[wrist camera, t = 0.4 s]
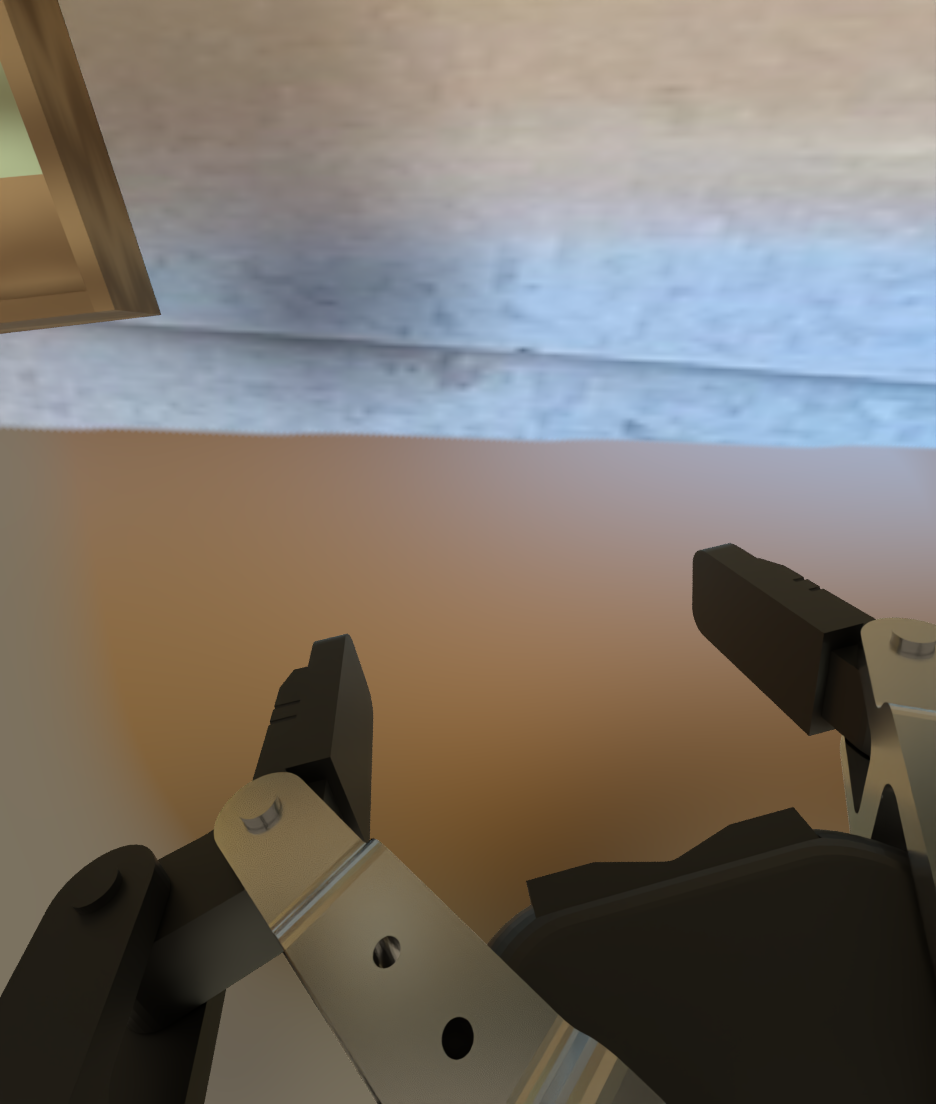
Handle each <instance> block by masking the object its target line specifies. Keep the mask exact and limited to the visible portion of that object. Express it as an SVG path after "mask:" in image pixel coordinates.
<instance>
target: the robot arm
mask: <svg viewBox="0 0 936 1104" xmlns="http://www.w3.org/2000/svg"><path fill="white" fill-rule="evenodd" d="M692 601H693V602H692V610H693V616H694V620H695V622H696V625H697V627H698V629H699V630H700V632H701V633H702V634H703V635H704V636H705V637H706V638H707V639H708V640H709V641H710V642H711V643H712V644H713V645H714V646H715V647H716V648H717V649H718V650H719V651H720V652H721V653H722V654H724V655H725V656H726V657H727V658H728V659H729V660H730V661H731V662H732V663H733V664H734V665H735V666H736V667H737V668H738V669H739V670H740V671H741V672H742V673H743V674H744V675H746V676H747V677H748V678H749V679H750V680H751V681H752V682H753V683H754V684H755V685H756V686H757V687H758V688H759V689H760V690H761V691H762V692H763V693H764V694H766V696H768V697H769V698H770V699H771V700H772V701H773V702H774V703H775V704H776V705H777V706H778V707H779V708H780V709H781V710H782V711H783V712H784V713H786V715H787V716H789V717H790V718H791V719H792V720H793V721H794V722H795V723H796V724H797V725H798V726H799V727H800V728H801V729H802V730H803V731H804V732H805V733H807V735H808V736H811V735H814V734H819V733H822V732H826V731H830V730H833V729H836V730H837V731H839V733H841V734H842V738H841V744H840V754H841V763H842V771H843V778H844V787H845V794H846V803H847V811H848V819H849V827H850V834H849V833H843V832H838V831H830V830H820V829H812V828H811V827H810V826H809V825H808V824H807V822H806V821H805V820H804V819H803V818H802V817H801V816H800V814H799V813H798V812H797V811H796V810H795V808H793V807H792V808H788V809H785V810H781V811H777V812H774V813H770V814H767V815H763V816H759V817H756V818H752V819H749V820H745V821H741V822H738V823H734V824H731V825H729V826H727V827H725V828H724V829H722V830H721V831H719V832H717V833H716V834H714V835H713V836H711V837H710V838H708V839H707V840H705V841H703V842H702V843H700V844H699V845H698V846H696V847H694V848H693V849H691V850H690V851H688V852H686V853H685V854H683V855H682V856H680V857H679V858H677V859H675V860H672V861H667V862H593V863H590V864H586V865H582V866H579V867H575V868H571V869H568V870H564V871H561V872H557V873H553V874H550V875H546V876H542V877H539V878H535V879H532V880H528V881H526V882H527V887H528V892H529V896H530V900H531V905H530V906H529V907H527V908H526V909H524V910H522V911H521V912H519V913H518V914H517V915H515V916H514V917H513V918H512V919H511V920H510V921H508V922H507V923H506V924H505V925H504V926H503V927H502V928H501V929H500V930H499V931H498V932H497V933H496V934H495V935H494V937H493V938H492V939H491V940H490V941H489V943H488V944H487V945H486V944H485V943H484V942H483V941H482V940H481V939H480V938H479V937H478V936H477V935H476V934H475V933H474V932H473V931H472V930H471V929H470V928H469V927H468V926H467V925H466V924H465V923H464V922H463V921H462V920H461V919H459V917H458V916H457V915H456V914H454V913H453V912H452V911H451V910H450V909H449V908H448V907H447V906H446V905H445V904H444V903H443V902H442V901H441V900H440V899H439V898H438V897H437V896H436V895H435V894H434V893H433V892H432V891H431V890H430V889H429V888H428V887H427V886H426V885H425V884H424V883H423V882H422V881H421V880H419V878H418V877H416V876H415V875H414V874H413V873H412V872H411V871H410V870H409V869H408V868H407V867H406V866H405V865H404V864H403V863H402V862H401V861H400V860H399V859H398V858H397V857H396V856H395V855H394V854H393V853H392V852H391V851H390V850H389V849H387V847H385V846H384V845H383V844H382V843H381V842H379V841H378V840H376V839H371V840H369V839H370V808H371V773H372V740H373V707H372V701H371V696H370V692H369V689H368V685H367V682H366V679H365V676H364V673H363V670H362V667H361V664H360V661H359V659H358V656H357V653H356V650H355V647H354V644H353V641H352V639H351V637H350V635H348V634H344V635H340V636H336V637H332V638H327V639H323V640H319V641H315V642H314V644H313V646H312V651H311V655H310V660H309V664H308V667H304V668H300V669H295V670H293V672H292V673H291V674H290V676H289V677H288V678H287V679H286V681H285V682H284V683H283V684H282V686H281V687H280V689H279V692H278V696H277V699H276V702H275V709H274V710H273V712H272V716H271V720H270V725H269V726H268V730H267V733H266V736H265V740H264V743H263V747H262V750H261V753H260V757H259V760H258V764H257V767H256V770H255V774H254V777H253V781H252V782H250V783H248V784H247V785H245V786H244V787H243V788H241V789H240V790H239V791H238V792H237V793H235V794H234V795H233V796H232V797H231V798H230V799H229V800H228V802H227V803H226V804H225V805H224V807H223V808H222V810H221V812H220V813H219V815H218V817H217V820H216V823H215V827H214V830H212V831H211V832H209V833H208V834H206V835H204V836H202V837H201V838H199V839H197V840H195V841H193V842H191V843H189V844H187V845H186V846H184V847H182V848H180V849H178V850H176V851H174V852H172V853H170V854H168V855H166V856H165V857H163V858H161V859H159V860H157V858H156V857H155V855H154V854H153V852H152V851H151V850H150V849H148V848H147V847H145V846H143V845H127V846H123V847H120V848H117V849H114V850H112V851H110V852H108V853H106V854H104V855H102V856H100V857H98V858H97V859H95V860H94V861H92V862H91V863H89V864H88V865H87V866H85V867H84V868H83V869H81V870H80V871H79V872H78V873H77V874H75V875H74V876H73V877H72V878H71V879H70V880H69V881H68V882H67V883H66V884H65V885H64V887H63V888H62V889H61V890H60V891H59V892H58V894H57V895H56V896H55V898H54V899H53V900H52V902H51V904H50V905H49V907H48V909H47V910H46V912H45V915H44V916H43V918H42V920H41V922H40V923H39V925H38V927H37V929H36V931H35V933H34V935H33V937H32V939H31V940H30V942H29V944H28V946H27V948H26V950H25V952H24V954H23V956H22V957H21V959H20V961H19V963H18V965H17V967H16V969H15V970H14V972H13V974H12V976H11V978H10V980H9V982H8V984H7V986H6V988H5V989H4V991H3V993H2V995H1V997H0V1104H204V1102H205V1096H206V1091H207V1085H208V1081H209V1076H210V1071H211V1065H212V1060H213V1055H214V1050H215V1044H216V1039H217V1034H218V1028H219V1024H220V1018H221V1013H222V1007H223V1002H224V997H225V992H226V988H228V987H230V986H231V985H233V984H234V983H236V982H237V981H239V980H240V979H242V978H244V977H245V976H247V975H248V974H250V973H251V972H253V971H254V970H256V969H258V968H259V967H261V966H262V965H264V964H265V963H267V962H268V961H270V960H272V959H273V958H275V957H276V956H278V955H279V954H281V953H283V954H284V956H285V958H286V959H287V961H288V962H289V964H290V965H291V967H292V969H293V970H294V972H295V973H296V975H297V977H298V978H299V980H300V981H301V983H302V985H303V986H304V988H305V989H306V991H307V993H308V994H309V995H310V997H311V999H312V1000H313V1002H314V1004H315V1005H316V1007H317V1008H318V1010H319V1011H320V1013H321V1015H322V1016H323V1018H324V1019H325V1021H326V1023H327V1024H328V1026H329V1027H330V1029H331V1031H332V1032H333V1034H334V1035H335V1037H336V1039H337V1040H338V1042H339V1043H340V1045H341V1046H342V1048H343V1050H344V1051H345V1053H346V1055H347V1056H348V1058H349V1059H350V1061H351V1063H352V1064H353V1066H354V1067H355V1069H356V1071H357V1072H358V1074H359V1075H360V1077H361V1079H362V1081H363V1082H364V1084H365V1085H366V1087H367V1088H368V1090H369V1092H370V1093H371V1095H372V1097H373V1098H374V1100H375V1101H376V1103H377V1104H936V625H935V624H931V623H928V622H924V621H920V620H915V619H908V618H882V619H877V620H876V619H874V618H873V617H871V616H869V615H868V614H866V613H864V612H862V611H861V610H859V609H857V608H856V607H854V606H852V605H851V604H849V603H847V602H845V601H844V600H842V599H840V598H839V597H837V596H835V595H833V594H831V593H830V592H828V591H826V590H825V589H820V587H819V586H818V585H816V584H815V583H813V582H811V581H810V580H808V579H806V580H804V577H802V576H801V575H799V574H798V573H796V572H794V571H792V570H791V569H789V568H787V567H786V566H784V565H780V564H777V563H773V562H770V561H767V560H764V559H760V558H756V557H754V556H753V555H751V554H749V553H748V552H746V551H744V550H743V549H741V548H739V547H738V546H736V545H734V544H731V543H728V544H724V545H720V546H716V547H712V548H708V549H703V550H699V551H697V552H696V553H695V555H694V558H693V595H692Z"/></svg>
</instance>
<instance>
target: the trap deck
mask: <svg viewBox="0 0 936 1104" xmlns="http://www.w3.org/2000/svg"><path fill="white" fill-rule="evenodd" d="M156 315H161V313H160V310H159V307H158V304H157V301H156V298H155V295H154V292H153V289H152V286H151V283H150V280H149V277H148V274H147V271H146V268H145V265H144V262H143V259H142V256H141V253H140V250H139V247H138V244H137V241H136V238H135V234H134V231H133V228H132V225H131V222H130V219H129V216H128V213H127V210H126V207H125V204H124V201H123V198H122V195H121V192H120V189H119V186H118V183H117V180H116V177H115V174H114V171H113V168H112V165H111V162H110V159H109V156H108V153H107V150H106V147H105V143H104V140H103V137H102V134H101V131H100V128H99V125H98V122H97V119H96V116H95V113H94V110H93V107H92V104H91V101H90V98H89V95H88V92H87V89H86V86H85V83H84V80H83V77H82V74H81V71H80V68H79V65H78V62H77V59H76V56H75V52H74V49H73V46H72V43H71V40H70V37H69V34H68V31H67V28H66V25H65V22H64V19H63V16H62V13H61V10H60V7H59V4H58V1H57V0H0V334H3V333H11V332H20V331H28V330H37V329H45V328H54V327H62V326H71V325H79V324H88V323H96V322H105V321H113V320H122V319H130V318H139V317H147V316H156Z"/></svg>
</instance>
